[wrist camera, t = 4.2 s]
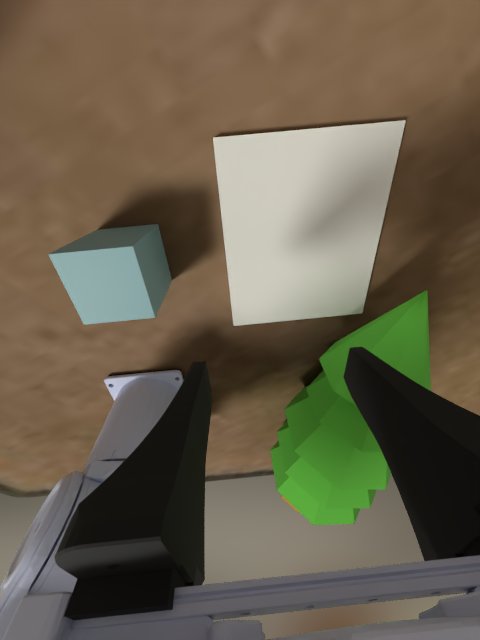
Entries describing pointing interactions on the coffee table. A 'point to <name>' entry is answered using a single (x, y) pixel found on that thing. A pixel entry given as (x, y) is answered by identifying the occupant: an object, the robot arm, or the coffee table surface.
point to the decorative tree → (346, 422)
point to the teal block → (115, 273)
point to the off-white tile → (303, 217)
